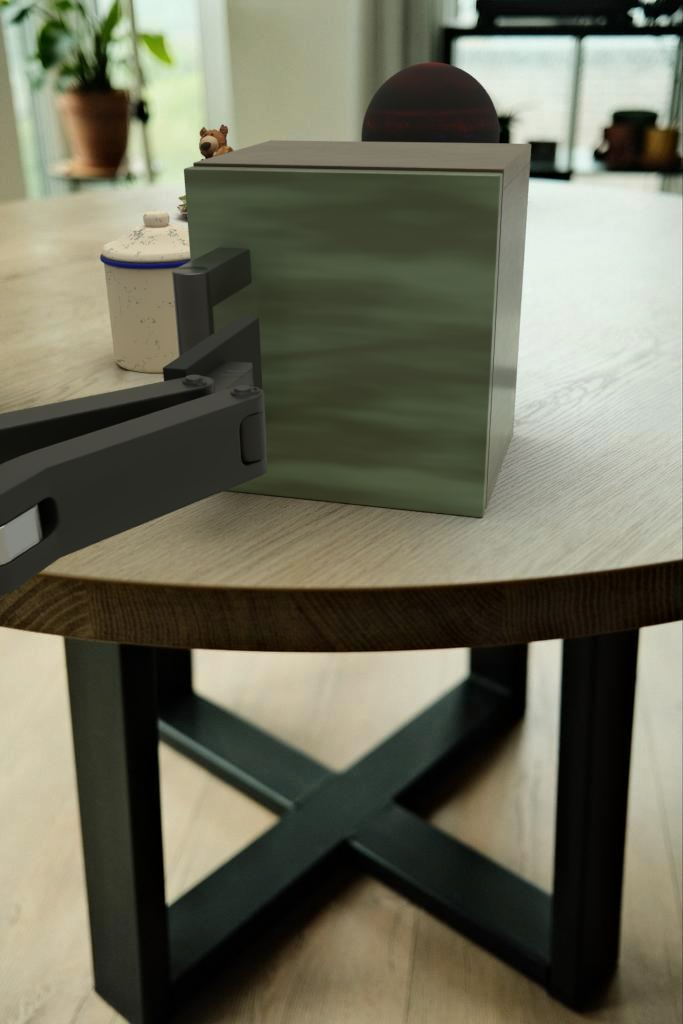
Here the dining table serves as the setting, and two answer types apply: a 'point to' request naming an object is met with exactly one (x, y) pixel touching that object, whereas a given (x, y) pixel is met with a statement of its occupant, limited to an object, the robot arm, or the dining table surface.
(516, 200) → the cupboard
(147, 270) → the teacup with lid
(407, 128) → the decorative orb
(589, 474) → the dining table surface
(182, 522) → the dining table surface
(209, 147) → the bear figurine
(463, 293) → the door
